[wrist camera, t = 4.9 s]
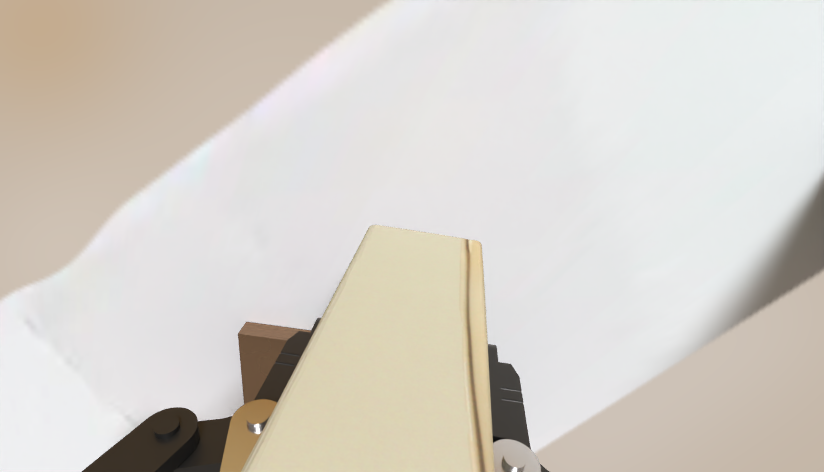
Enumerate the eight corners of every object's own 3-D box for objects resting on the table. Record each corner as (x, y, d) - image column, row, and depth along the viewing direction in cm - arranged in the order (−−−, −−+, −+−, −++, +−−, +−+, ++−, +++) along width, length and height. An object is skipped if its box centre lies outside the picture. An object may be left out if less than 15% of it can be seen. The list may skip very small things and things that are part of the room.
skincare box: (456, 365, 19) (447, 844, 8) (353, 349, 19) (204, 794, 8) (484, 233, 16) (528, 689, 5) (362, 215, 16) (152, 619, 5)
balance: (479, 333, 27) (499, 569, 15) (457, 437, 31) (460, 688, 19) (142, 288, 27) (-87, 480, 16) (163, 395, 31) (-8, 612, 20)
